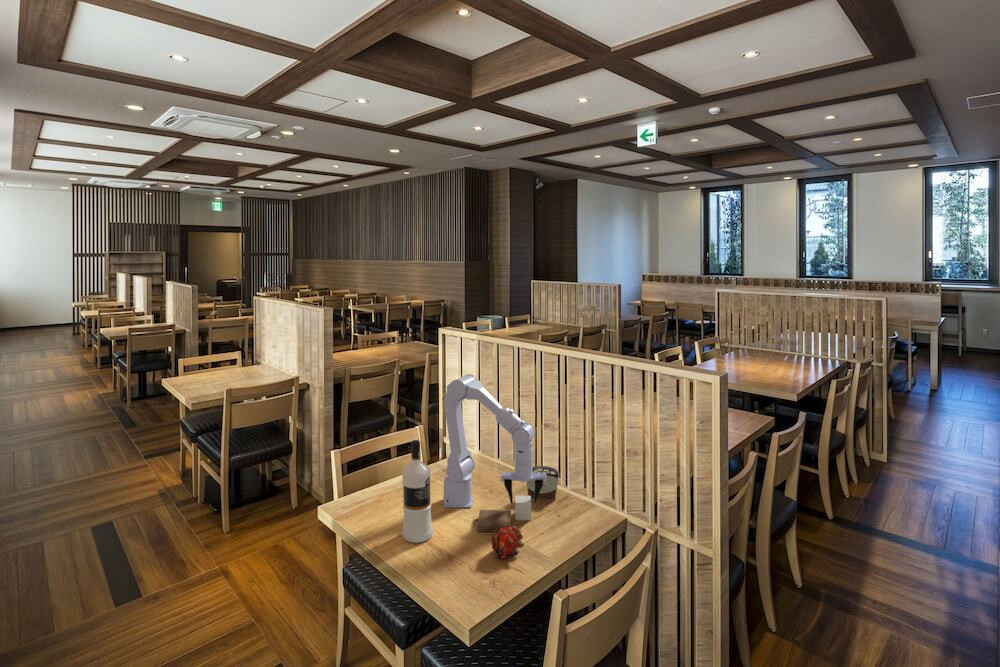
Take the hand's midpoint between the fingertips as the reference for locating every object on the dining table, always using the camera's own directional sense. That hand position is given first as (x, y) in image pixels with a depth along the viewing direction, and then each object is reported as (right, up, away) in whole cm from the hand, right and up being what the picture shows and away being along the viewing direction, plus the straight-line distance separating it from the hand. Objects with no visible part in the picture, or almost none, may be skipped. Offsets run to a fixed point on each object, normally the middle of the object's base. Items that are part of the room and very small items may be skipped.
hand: (523, 501), depth 173 cm
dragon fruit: (-6, -9, -21) cm, 23 cm away
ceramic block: (0, -5, +1) cm, 5 cm away
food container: (+7, -3, +16) cm, 17 cm away
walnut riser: (-9, -6, -5) cm, 12 cm away
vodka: (-32, -7, -11) cm, 35 cm away
